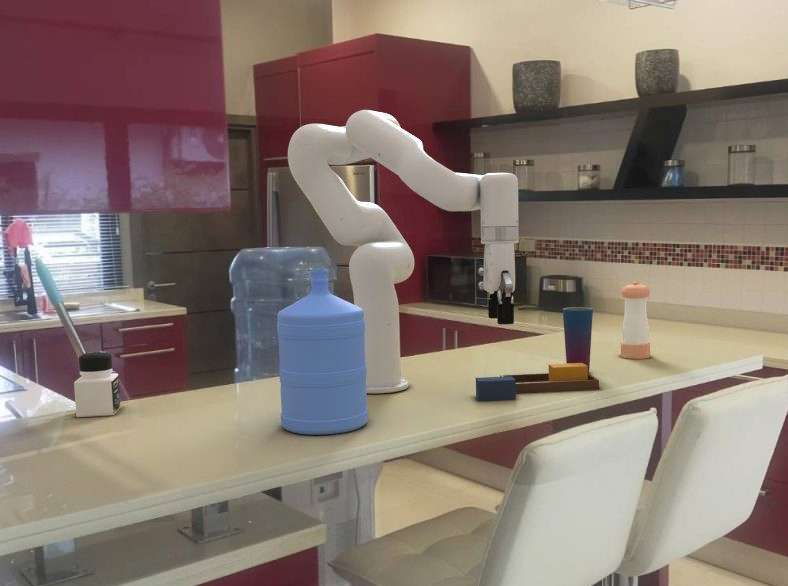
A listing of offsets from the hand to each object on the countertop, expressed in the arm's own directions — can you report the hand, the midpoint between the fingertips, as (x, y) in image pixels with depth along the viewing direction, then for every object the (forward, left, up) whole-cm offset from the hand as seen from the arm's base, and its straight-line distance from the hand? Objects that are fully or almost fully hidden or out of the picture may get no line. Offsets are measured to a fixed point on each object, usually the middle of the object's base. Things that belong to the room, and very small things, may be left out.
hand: (500, 321), depth 174 cm
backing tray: (+12, +8, -16) cm, 21 cm away
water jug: (-35, -17, -16) cm, 42 cm away
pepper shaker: (+42, +40, -16) cm, 60 cm away
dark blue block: (-1, -1, -16) cm, 16 cm away
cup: (+22, +21, -16) cm, 34 cm away
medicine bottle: (-80, +2, -16) cm, 82 cm away
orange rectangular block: (+16, +8, -15) cm, 23 cm away
